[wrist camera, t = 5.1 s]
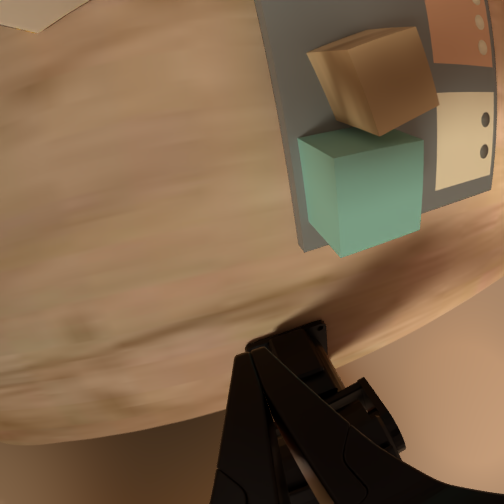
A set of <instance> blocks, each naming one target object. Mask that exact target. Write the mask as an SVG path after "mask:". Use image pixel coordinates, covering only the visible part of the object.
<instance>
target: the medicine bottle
mask: <svg viewBox="0 0 504 504" xmlns="http://www.w3.org/2000/svg"><path fill="white" fill-rule="evenodd" d="M88 1H90V0H0V25H2V26H6V27H11V28H15V29H20V30H24V31H28V32H32V33H39V32H42V31H43V30H44V29H46V28H47V27H49V26H50V25H52V24H53V23H55V22H56V21H57V20H59V19H60V18H62V17H64V16H65V15H67V14H68V13H70V12H71V11H73V10H75V9H76V8H78V7H80V6H81V5H83V4H85V3H86V2H88Z"/></svg>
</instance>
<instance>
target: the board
mask: <svg viewBox="0 0 504 504" xmlns="http://www.w3.org/2000/svg"><path fill="white" fill-rule="evenodd" d="M254 2H255V6H256V10H257V15H258V19H259V24H260V28H261V33H262V37H263V42H264V47H265V52H266V56H267V61H268V66H269V71H270V76H271V81H272V86H273V92H274V97H275V102H276V108H277V113H278V119H279V124H280V130H281V135H282V141H283V147H284V153H285V159H286V165H287V171H288V177H289V184H290V190H291V196H292V203H293V210H294V216H295V223H296V230H297V238H298V244H299V246H300V247H301V249H302V250H303V251H304V252H307V251H311V250H314V249H317V248H320V247H323V246H326V245H329V244H328V243H327V242H326V241H325V239H324V238H323V237H322V236H321V235H320V234H319V233H318V232H317V230H316V229H315V228H314V227H313V226H312V225H311V224H310V223H309V220H308V212H307V204H306V196H305V188H304V181H303V174H302V167H301V160H300V153H299V146H298V140H297V138H300V137H305V136H310V135H314V134H319V133H324V132H329V131H334V130H340V129H345V128H351V127H353V126H351V125H348V124H345V123H342V122H339V121H336V119H335V116H334V114H333V111H332V109H331V107H330V104H329V102H328V99H327V97H326V95H325V93H324V90H323V88H322V86H321V84H320V81H319V79H318V77H317V75H316V73H315V70H314V68H313V66H312V64H311V62H310V60H309V58H308V56H307V54H306V53H307V52H309V51H312V50H314V49H317V48H319V47H321V46H324V45H326V44H329V43H332V42H334V41H337V40H339V39H342V38H345V37H348V36H350V35H353V34H356V33H359V32H362V31H365V30H369V29H381V28H395V27H416V28H417V31H418V34H419V37H420V39H421V42H422V45H423V48H424V51H425V54H426V57H427V61H428V64H429V67H430V70H431V74H432V77H433V81H434V85H435V88H436V92H437V96H438V100H439V104H440V105H439V106H437V107H435V108H433V109H431V110H429V111H427V112H425V113H423V114H421V115H420V116H418V117H416V118H414V119H412V120H410V121H408V122H406V123H404V124H402V125H401V126H399V127H397V128H395V129H396V130H399V131H401V132H404V133H407V134H409V135H412V136H414V137H417V138H420V139H422V140H424V166H423V193H422V209H421V214H422V213H425V212H428V211H431V210H434V209H437V208H440V207H443V206H446V205H449V204H451V203H454V202H457V201H460V200H463V199H466V198H469V197H472V196H475V195H477V194H480V193H483V192H486V191H489V190H491V185H492V177H493V168H494V158H495V145H496V125H497V82H496V63H495V51H494V41H493V32H492V25H491V18H490V12H489V6H488V1H487V0H254Z"/></svg>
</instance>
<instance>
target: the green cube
mask: <svg viewBox="0 0 504 504" xmlns="http://www.w3.org/2000/svg"><path fill="white" fill-rule="evenodd" d="M297 140H298V146H299V153H300V160H301V167H302V174H303V181H304V188H305V196H306V204H307V212H308V220H309V223H310V224H311V225H312V226H313V227H314V228H315V229H316V230H317V232H318V233H319V234H320V235H321V236H322V237H323V238H324V239H325V241H326V242H327V243H328V244H329V245H330V246H331V247H332V249H333V250H334V251H335V252H336V253H337V254H338V255H339V257H340V258H342V257H345V256H348V255H351V254H354V253H357V252H359V251H362V250H365V249H368V248H371V247H374V246H377V245H379V244H382V243H385V242H388V241H391V240H393V239H396V238H399V237H402V236H404V235H407V234H410V233H413V232H415V231H418V230H420V221H421V209H422V193H423V166H424V140H422V139H420V138H417V137H414V136H412V135H409V134H407V133H404V132H401V131H399V130H396V129H393V130H391V131H389V132H387V133H386V134H384V135H382V136H380V137H379V136H377V135H374V134H372V133H369V132H367V131H364V130H361V129H359V128H356V127H351V128H345V129H340V130H334V131H329V132H324V133H319V134H314V135H310V136H305V137H300V138H297Z"/></svg>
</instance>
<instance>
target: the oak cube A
mask: <svg viewBox="0 0 504 504" xmlns="http://www.w3.org/2000/svg"><path fill="white" fill-rule="evenodd" d="M306 54H307V56H308V58H309V60H310V62H311V64H312V66H313V68H314V70H315V73H316V75H317V77H318V79H319V81H320V84H321V86H322V88H323V90H324V93H325V95H326V97H327V99H328V102H329V104H330V107H331V109H332V111H333V114H334V116H335V119H336V121H339V122H342V123H345V124H348V125H351V126H353V127H356V128H359V129H361V130H364V131H367V132H369V133H372V134H374V135H377V136H379V137H380V136H382V135H384V134H386V133H387V132H389V131H391V130H393V129H395V128H397V127H399V126H401V125H402V124H404V123H406V122H408V121H410V120H412V119H414V118H416V117H418V116H420V115H421V114H423V113H425V112H427V111H429V110H431V109H433V108H435V107H437V106H439V105H440V104H439V100H438V96H437V92H436V88H435V85H434V81H433V77H432V74H431V70H430V67H429V64H428V61H427V57H426V54H425V51H424V48H423V45H422V42H421V39H420V37H419V34H418V31H417V28H416V27H395V28H381V29H369V30H365V31H362V32H359V33H356V34H353V35H350V36H348V37H345V38H342V39H339V40H337V41H334V42H332V43H329V44H326V45H324V46H321V47H319V48H317V49H314V50H312V51H309V52H307V53H306Z"/></svg>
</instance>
